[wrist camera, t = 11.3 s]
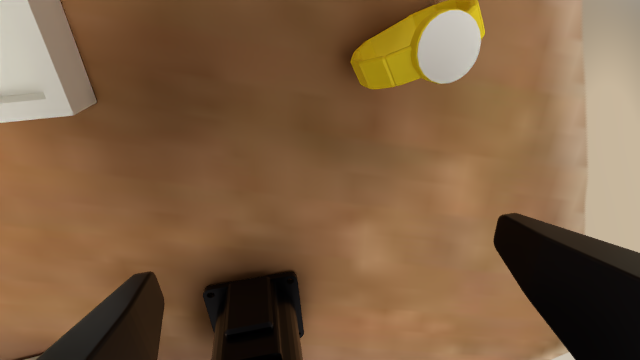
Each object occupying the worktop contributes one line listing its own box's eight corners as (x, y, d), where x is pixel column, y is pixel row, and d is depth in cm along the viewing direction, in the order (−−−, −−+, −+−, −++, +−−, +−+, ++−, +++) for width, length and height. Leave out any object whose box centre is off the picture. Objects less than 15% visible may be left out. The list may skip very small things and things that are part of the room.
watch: (428, -13, 18) (513, -32, 12) (443, 37, 19) (525, 39, 14) (331, 45, 18) (374, 52, 12) (353, 91, 19) (400, 115, 14)
